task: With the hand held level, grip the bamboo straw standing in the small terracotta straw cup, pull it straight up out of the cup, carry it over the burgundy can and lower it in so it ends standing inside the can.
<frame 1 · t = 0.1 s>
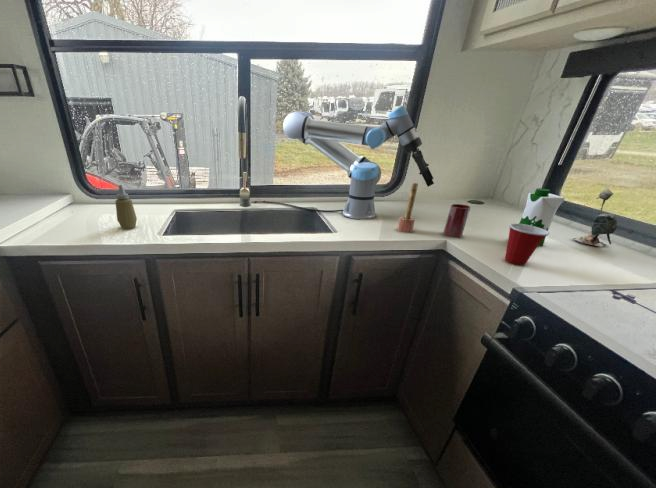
hand: (430, 182, 157), 15 cm above the countertop, tool tilted 35°, fingers open, 13 cm apart
can: (452, 235, 137), on the countertop
plastic cup: (515, 262, 113), on the countertop
straw caddy: (404, 230, 143), on the countertop
straw: (404, 230, 142), resting on straw caddy
milk carton: (526, 243, 129), on the countertop
squeeze bottle: (128, 227, 148), on the countertop
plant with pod: (591, 244, 128), on the countertop
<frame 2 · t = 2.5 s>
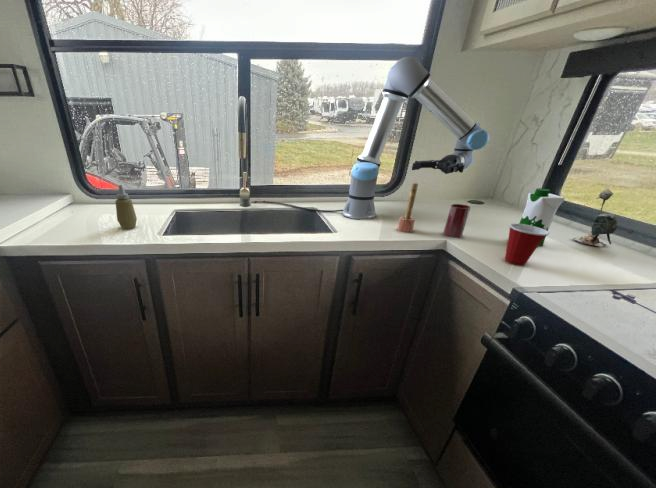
hand: (429, 168, 136), 24 cm above the countertop, tool horizontal, fingers open, 13 cm apart
nothing on the countertop moved.
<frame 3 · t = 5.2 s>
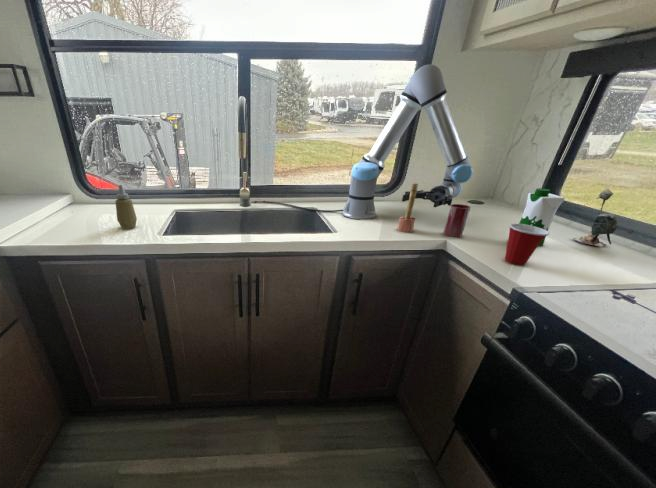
hand: (418, 201, 141), 12 cm above the countertop, tool horizontal, fingers open, 13 cm apart
nothing on the countertop moved.
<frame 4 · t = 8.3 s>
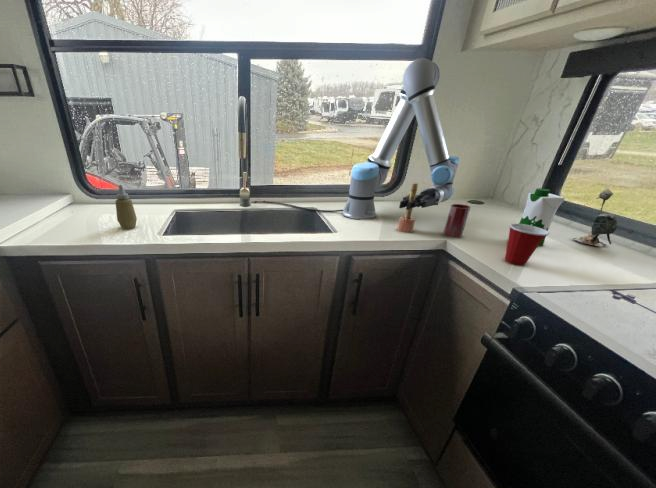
hand: (404, 205, 134), 12 cm above the countertop, tool horizontal, fingers closed on straw, 2 cm apart
straw: (404, 229, 142), resting on straw caddy, touching gripper
everything else where it was.
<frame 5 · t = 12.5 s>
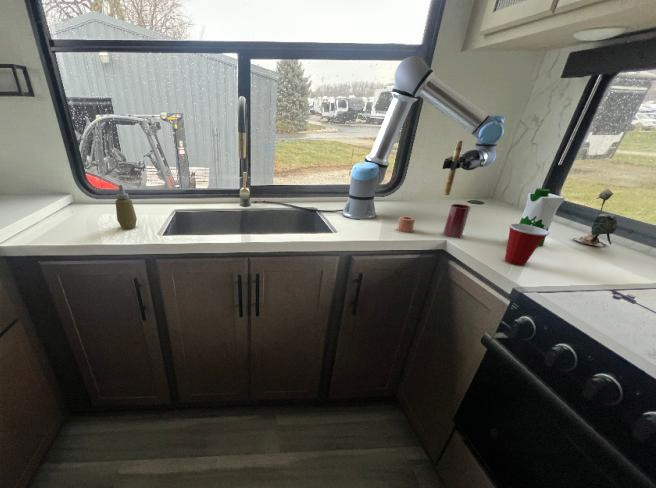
hand: (448, 165, 122), 27 cm above the countertop, tool horizontal, fingers closed on straw, 2 cm apart
straw: (446, 194, 131), point 16 cm above the countertop, touching gripper
everything else where it was.
when the fingers open (14 cm above the countertop, at t = 17.1 s): straw drops 3 cm, resting on can.
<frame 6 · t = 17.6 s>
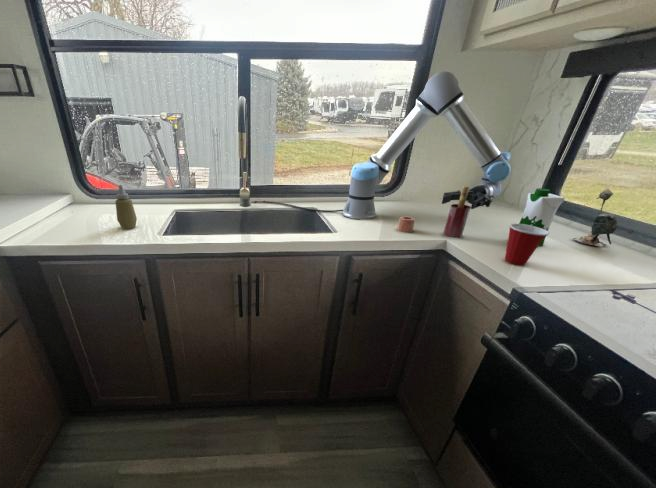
hand: (457, 202, 128), 14 cm above the countertop, tool horizontal, fingers open, 10 cm apart
straw: (452, 234, 137), resting on can
everything else where it was.
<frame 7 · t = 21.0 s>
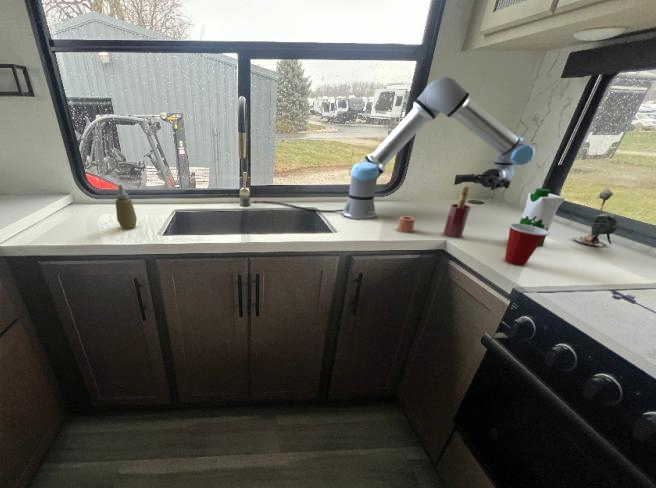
hand: (473, 183, 133), 19 cm above the countertop, tool horizontal, fingers open, 13 cm apart
nothing on the countertop moved.
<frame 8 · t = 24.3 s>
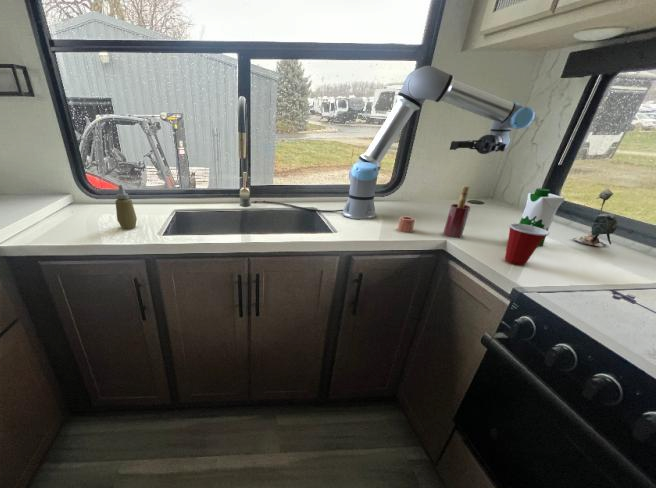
hand: (469, 147, 132), 32 cm above the countertop, tool horizontal, fingers open, 13 cm apart
nothing on the countertop moved.
at the end: straw 0.0 cm off-centre in the can, point 0.4 cm above the can's base; the gripper is holding nothing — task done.
